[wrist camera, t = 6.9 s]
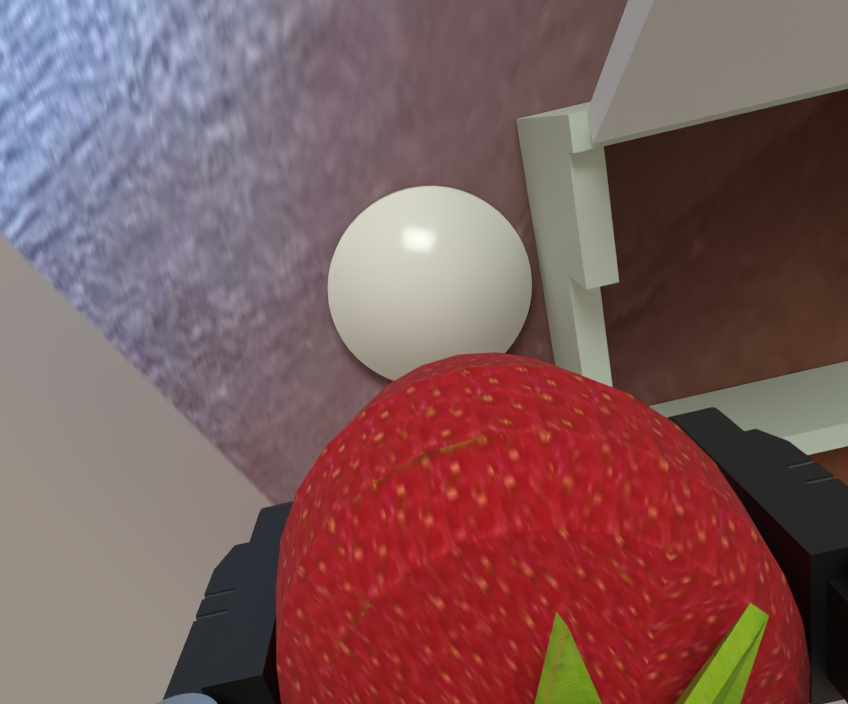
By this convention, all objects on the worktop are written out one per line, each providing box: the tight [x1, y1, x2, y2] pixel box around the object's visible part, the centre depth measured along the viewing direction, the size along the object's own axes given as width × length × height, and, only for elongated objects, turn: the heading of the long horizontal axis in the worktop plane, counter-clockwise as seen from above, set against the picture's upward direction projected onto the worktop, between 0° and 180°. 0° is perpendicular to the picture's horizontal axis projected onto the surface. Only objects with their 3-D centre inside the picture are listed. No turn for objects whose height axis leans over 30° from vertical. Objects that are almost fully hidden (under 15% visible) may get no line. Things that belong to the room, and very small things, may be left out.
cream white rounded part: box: [328, 185, 532, 381], centre depth 24 cm, size 8×8×1 cm
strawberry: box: [276, 352, 811, 704], centre depth 8 cm, size 6×8×10 cm
